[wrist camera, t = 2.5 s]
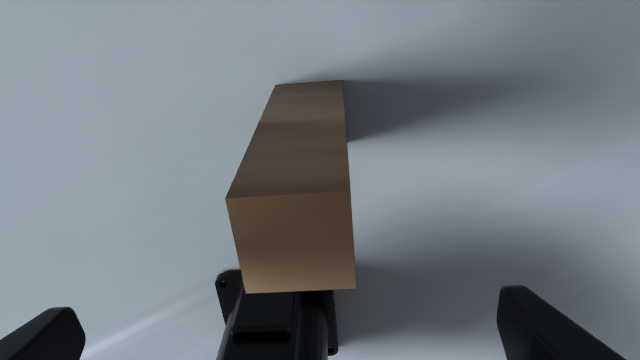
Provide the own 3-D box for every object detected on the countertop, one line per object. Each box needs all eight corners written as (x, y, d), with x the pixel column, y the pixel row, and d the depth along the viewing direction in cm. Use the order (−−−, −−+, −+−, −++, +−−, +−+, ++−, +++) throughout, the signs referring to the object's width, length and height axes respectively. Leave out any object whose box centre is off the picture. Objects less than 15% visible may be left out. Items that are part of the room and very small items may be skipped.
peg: (346, 142, 20) (356, 288, 11) (283, 146, 21) (245, 293, 12) (342, 80, 19) (350, 191, 10) (275, 85, 19) (225, 198, 10)
